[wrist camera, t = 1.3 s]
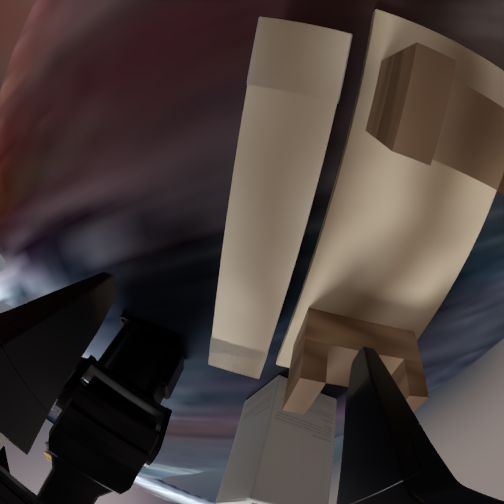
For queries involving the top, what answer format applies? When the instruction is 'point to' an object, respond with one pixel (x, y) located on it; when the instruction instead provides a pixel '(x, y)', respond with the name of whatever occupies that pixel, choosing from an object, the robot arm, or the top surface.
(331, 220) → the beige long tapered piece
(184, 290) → the top surface
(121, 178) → the top surface
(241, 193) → the rail
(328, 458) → the supplement box
